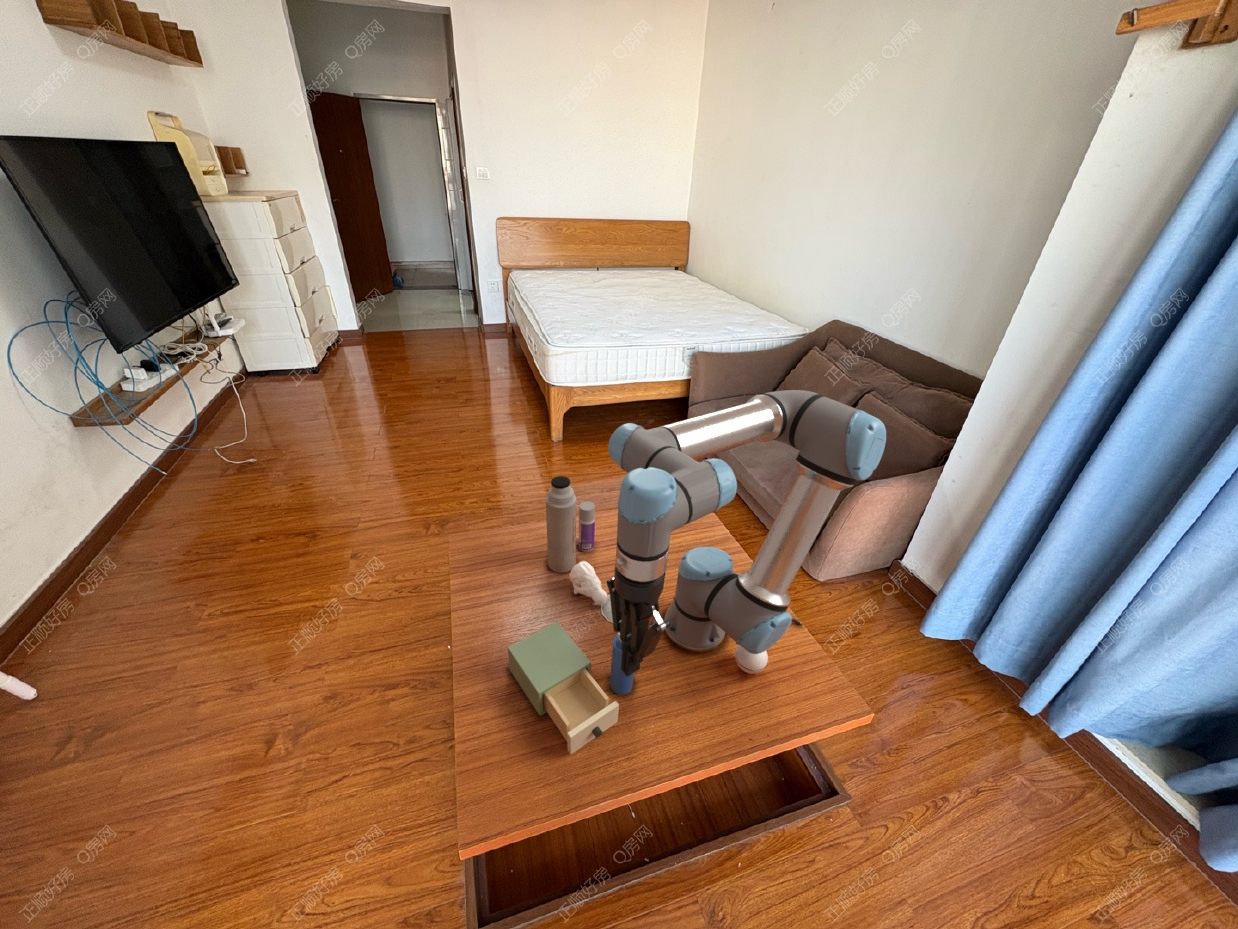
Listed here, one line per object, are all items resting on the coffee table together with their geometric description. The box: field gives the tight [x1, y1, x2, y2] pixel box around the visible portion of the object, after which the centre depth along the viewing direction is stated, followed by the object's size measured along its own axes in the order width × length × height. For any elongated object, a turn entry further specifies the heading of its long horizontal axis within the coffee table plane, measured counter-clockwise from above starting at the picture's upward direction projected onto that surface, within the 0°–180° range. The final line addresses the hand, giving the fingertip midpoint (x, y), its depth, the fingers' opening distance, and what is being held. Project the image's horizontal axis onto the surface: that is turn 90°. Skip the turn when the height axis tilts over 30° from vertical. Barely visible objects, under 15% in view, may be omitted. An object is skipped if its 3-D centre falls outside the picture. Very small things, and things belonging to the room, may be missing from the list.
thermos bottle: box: [545, 475, 577, 573], centre depth 136 cm, size 8×8×28 cm
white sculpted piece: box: [568, 560, 609, 607], centre depth 131 cm, size 6×8×12 cm
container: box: [577, 500, 596, 553], centre depth 146 cm, size 5×5×15 cm
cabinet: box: [507, 621, 592, 717], centre depth 110 cm, size 14×13×8 cm
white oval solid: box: [734, 644, 775, 676], centre depth 114 cm, size 10×7×7 cm
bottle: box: [609, 632, 635, 696], centre depth 107 cm, size 5×5×17 cm
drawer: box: [542, 669, 620, 755], centre depth 102 cm, size 14×11×6 cm
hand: (630, 669), depth 86 cm, fingers closed
